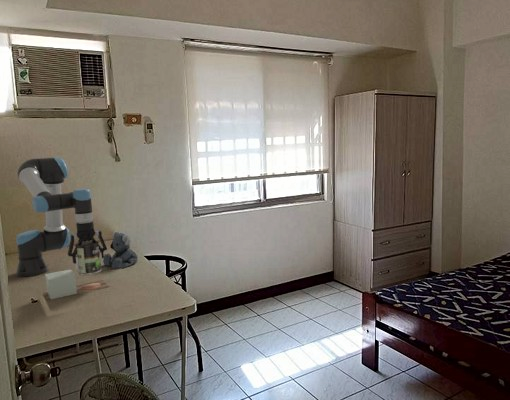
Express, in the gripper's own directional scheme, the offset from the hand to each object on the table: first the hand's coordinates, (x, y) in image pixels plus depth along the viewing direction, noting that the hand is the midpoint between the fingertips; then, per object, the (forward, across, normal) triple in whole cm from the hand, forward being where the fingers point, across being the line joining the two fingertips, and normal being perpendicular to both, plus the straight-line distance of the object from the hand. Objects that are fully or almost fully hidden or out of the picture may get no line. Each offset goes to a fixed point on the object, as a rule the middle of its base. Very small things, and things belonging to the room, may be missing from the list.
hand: (89, 267), depth 195 cm
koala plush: (+11, +25, +34) cm, 43 cm away
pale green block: (+10, -13, 0) cm, 16 cm away
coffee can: (+2, 0, 0) cm, 2 cm away
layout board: (+11, -6, 0) cm, 13 cm away
